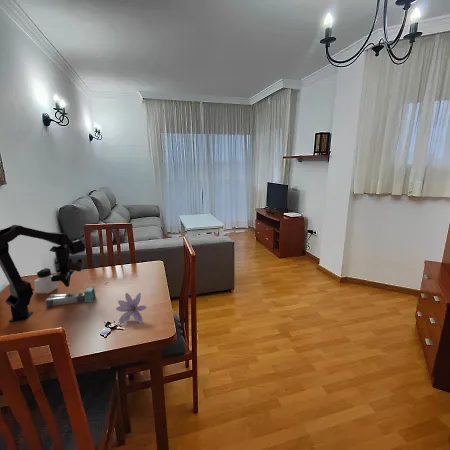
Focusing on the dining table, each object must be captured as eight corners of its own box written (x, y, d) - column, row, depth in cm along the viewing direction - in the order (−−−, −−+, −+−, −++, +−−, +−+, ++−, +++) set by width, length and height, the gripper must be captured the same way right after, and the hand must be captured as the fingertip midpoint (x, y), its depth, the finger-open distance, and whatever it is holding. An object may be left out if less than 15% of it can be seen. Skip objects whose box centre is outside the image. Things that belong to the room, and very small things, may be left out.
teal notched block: (95, 295, 132) (94, 286, 131) (92, 301, 126) (90, 291, 125) (89, 296, 131) (87, 287, 130) (85, 302, 126) (84, 292, 125)
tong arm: (78, 298, 130) (77, 292, 129) (76, 300, 128) (75, 294, 127) (52, 299, 129) (51, 294, 128) (50, 302, 126) (49, 296, 126)
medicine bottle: (58, 287, 142) (54, 267, 140) (48, 293, 135) (44, 272, 133) (46, 287, 143) (42, 266, 140) (35, 293, 136) (31, 272, 133)
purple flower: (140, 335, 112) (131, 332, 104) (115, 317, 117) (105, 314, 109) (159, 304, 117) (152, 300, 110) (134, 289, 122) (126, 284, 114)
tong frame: (86, 298, 130) (85, 292, 129) (83, 302, 126) (82, 296, 125) (50, 302, 127) (49, 296, 126) (46, 306, 123) (45, 300, 122)
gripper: (74, 263, 121) (79, 293, 124) (86, 250, 139) (90, 277, 142) (47, 265, 118) (53, 296, 122) (63, 252, 136) (67, 279, 140)
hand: (67, 286), depth 132 cm, fingers closed
